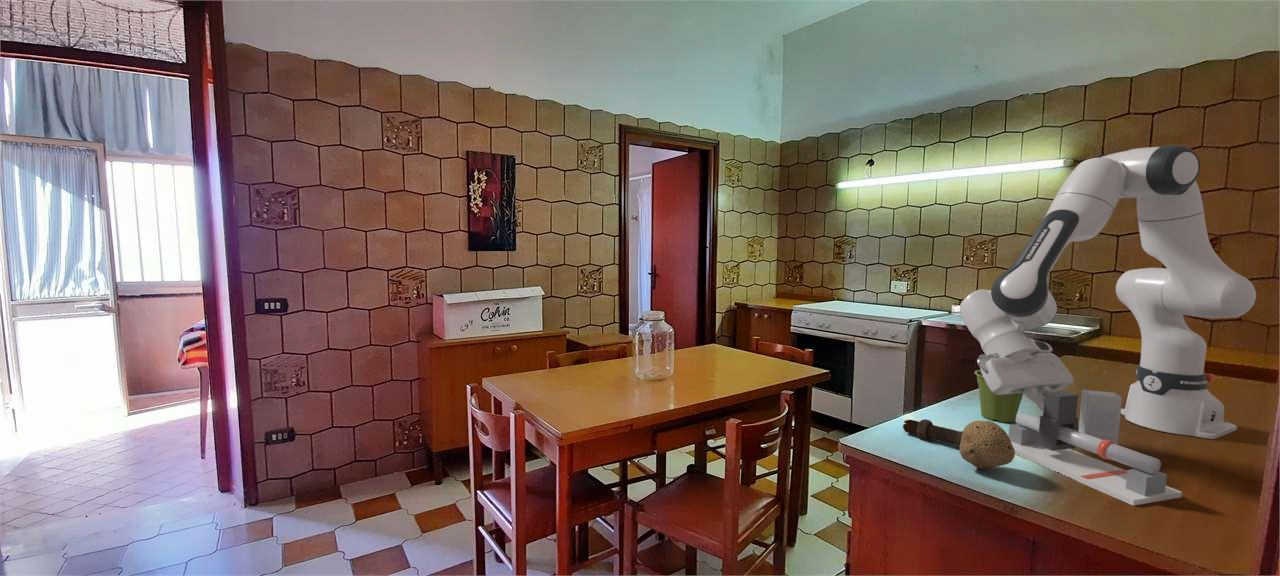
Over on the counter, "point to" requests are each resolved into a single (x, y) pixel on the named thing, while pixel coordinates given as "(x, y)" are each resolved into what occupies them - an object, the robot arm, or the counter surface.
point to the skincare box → (1100, 414)
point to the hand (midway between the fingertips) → (1049, 408)
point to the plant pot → (997, 402)
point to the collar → (1057, 419)
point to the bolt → (932, 431)
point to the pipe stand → (1094, 463)
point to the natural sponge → (986, 445)
